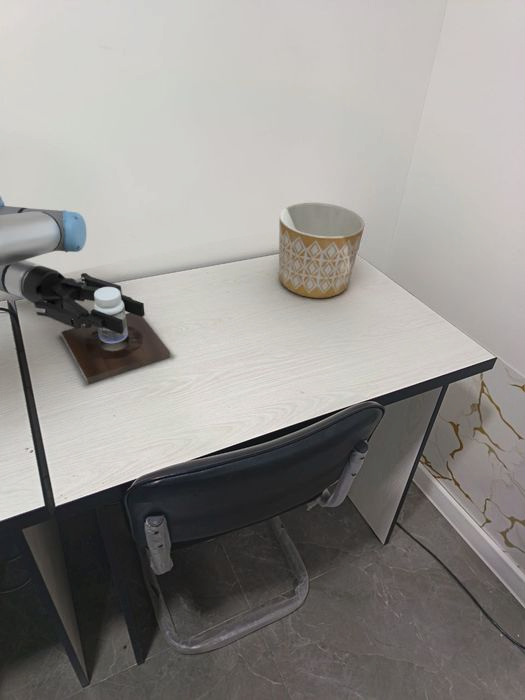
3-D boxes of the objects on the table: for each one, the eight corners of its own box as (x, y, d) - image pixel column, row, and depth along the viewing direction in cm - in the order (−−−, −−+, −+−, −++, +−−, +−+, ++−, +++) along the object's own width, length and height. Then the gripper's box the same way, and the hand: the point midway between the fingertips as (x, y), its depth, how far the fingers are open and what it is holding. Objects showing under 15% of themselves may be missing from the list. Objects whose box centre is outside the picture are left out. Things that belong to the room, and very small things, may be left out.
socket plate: (87, 384, 89) (86, 378, 88) (62, 337, 99) (60, 331, 98) (170, 357, 96) (169, 351, 95) (138, 316, 106) (137, 310, 105)
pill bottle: (92, 336, 95) (84, 293, 89) (115, 324, 99) (109, 281, 93) (111, 348, 93) (104, 304, 87) (134, 335, 96) (128, 292, 90)
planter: (301, 310, 112) (310, 243, 102) (260, 271, 125) (264, 209, 114) (368, 292, 120) (382, 228, 110) (322, 257, 133) (331, 197, 122)
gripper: (73, 280, 107) (163, 311, 99) (3, 322, 93) (101, 362, 86) (66, 248, 102) (160, 278, 95) (-8, 288, 89) (95, 327, 81)
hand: (132, 318), depth 90 cm, fingers closed on pill bottle, 5 cm apart
